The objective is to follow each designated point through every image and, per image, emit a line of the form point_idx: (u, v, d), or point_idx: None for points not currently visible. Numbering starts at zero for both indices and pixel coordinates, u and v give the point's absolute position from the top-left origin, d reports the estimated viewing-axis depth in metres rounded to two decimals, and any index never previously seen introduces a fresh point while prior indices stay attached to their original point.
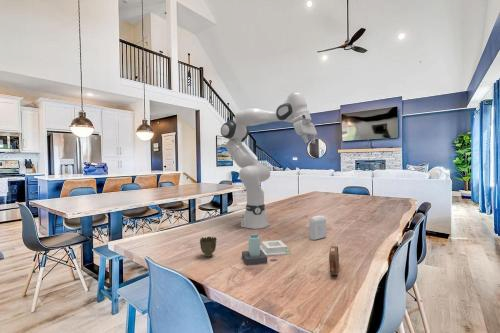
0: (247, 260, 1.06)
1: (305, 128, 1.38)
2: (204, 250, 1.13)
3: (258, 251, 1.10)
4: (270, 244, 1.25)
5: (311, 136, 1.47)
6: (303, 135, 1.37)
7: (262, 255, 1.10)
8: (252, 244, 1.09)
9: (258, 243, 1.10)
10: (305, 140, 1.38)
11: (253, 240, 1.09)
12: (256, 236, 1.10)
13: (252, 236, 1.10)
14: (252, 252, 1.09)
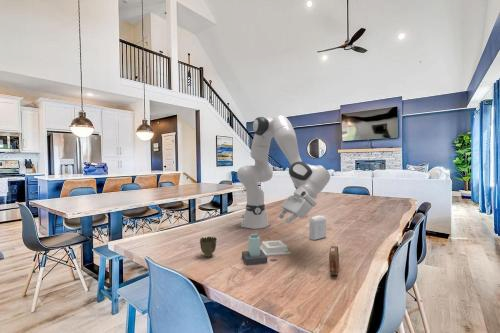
0: (247, 260, 1.06)
1: None
2: (204, 250, 1.13)
3: (258, 251, 1.10)
4: (270, 244, 1.25)
5: (285, 210, 1.19)
6: (295, 216, 1.08)
7: (262, 255, 1.10)
8: (252, 244, 1.09)
9: (258, 243, 1.10)
10: (289, 220, 1.09)
11: (253, 240, 1.09)
12: (256, 236, 1.10)
13: (252, 236, 1.10)
14: (252, 252, 1.09)
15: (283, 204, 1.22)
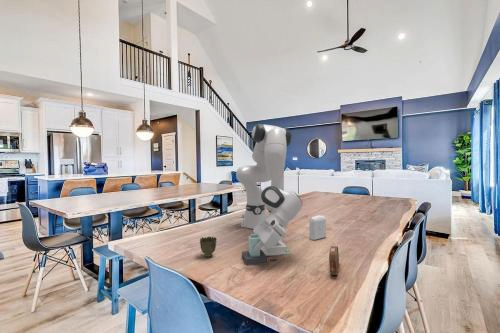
0: (247, 260, 1.06)
1: None
2: (204, 250, 1.13)
3: (258, 251, 1.10)
4: None
5: None
6: (262, 244, 1.07)
7: (262, 255, 1.10)
8: (252, 244, 1.09)
9: None
10: (256, 248, 1.08)
11: (253, 240, 1.09)
12: (256, 236, 1.10)
13: (252, 236, 1.10)
14: (252, 252, 1.09)
15: (255, 229, 1.19)
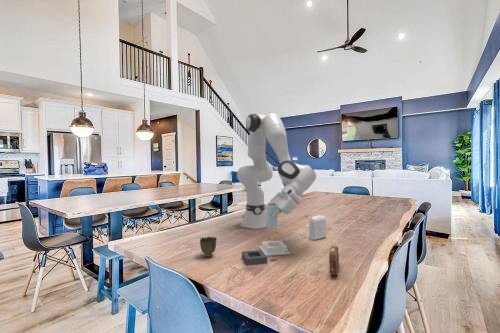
0: (247, 260, 1.06)
1: None
2: (204, 250, 1.13)
3: (275, 218, 1.20)
4: (270, 244, 1.25)
5: None
6: (279, 211, 1.18)
7: (262, 255, 1.10)
8: (270, 211, 1.19)
9: None
10: (274, 215, 1.18)
11: (271, 208, 1.19)
12: (274, 204, 1.21)
13: (270, 204, 1.20)
14: (270, 219, 1.19)
15: (271, 200, 1.29)
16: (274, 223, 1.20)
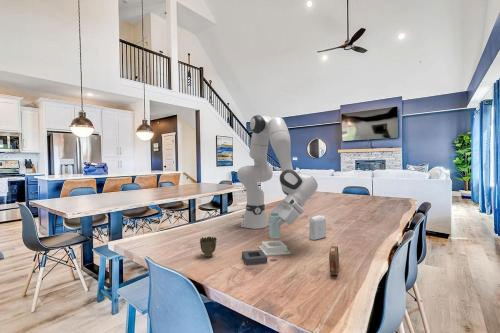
0: (247, 260, 1.06)
1: None
2: (204, 250, 1.13)
3: (278, 228, 1.21)
4: (270, 244, 1.25)
5: None
6: (282, 221, 1.19)
7: (262, 255, 1.10)
8: (273, 221, 1.20)
9: None
10: (277, 225, 1.19)
11: (274, 218, 1.20)
12: (276, 214, 1.22)
13: (273, 214, 1.21)
14: (273, 229, 1.20)
15: (273, 210, 1.30)
16: (276, 233, 1.21)
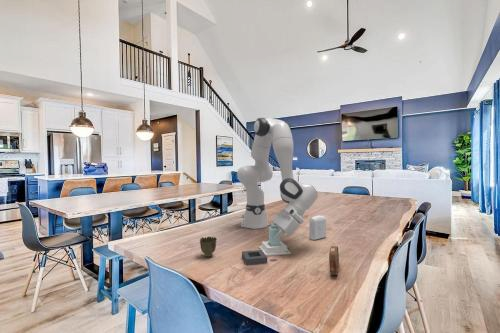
0: (247, 260, 1.06)
1: None
2: (204, 250, 1.13)
3: (278, 241, 1.21)
4: None
5: None
6: (283, 232, 1.17)
7: (262, 255, 1.10)
8: (272, 234, 1.21)
9: None
10: (278, 236, 1.18)
11: (273, 231, 1.21)
12: (276, 227, 1.22)
13: (272, 227, 1.22)
14: (272, 241, 1.21)
15: (273, 219, 1.31)
16: None
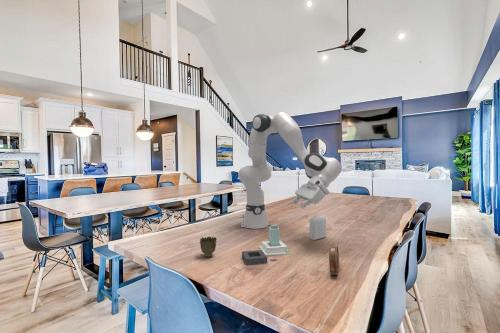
0: (247, 260, 1.06)
1: None
2: (204, 250, 1.13)
3: (278, 241, 1.21)
4: None
5: (299, 196, 1.32)
6: (309, 202, 1.21)
7: (262, 255, 1.10)
8: (272, 234, 1.21)
9: (278, 233, 1.21)
10: (304, 205, 1.21)
11: (273, 231, 1.21)
12: (276, 227, 1.22)
13: (272, 227, 1.22)
14: (272, 241, 1.21)
15: (297, 191, 1.34)
16: None
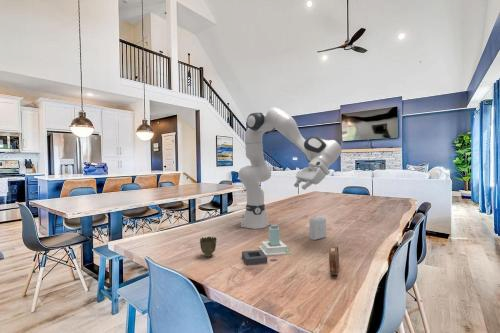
0: (247, 260, 1.06)
1: None
2: (204, 250, 1.13)
3: (278, 241, 1.21)
4: None
5: (299, 180, 1.32)
6: (310, 183, 1.21)
7: (262, 255, 1.10)
8: (272, 234, 1.21)
9: (278, 233, 1.21)
10: (305, 186, 1.22)
11: (273, 231, 1.21)
12: (276, 227, 1.22)
13: (272, 227, 1.22)
14: (272, 241, 1.21)
15: (298, 175, 1.35)
16: None
